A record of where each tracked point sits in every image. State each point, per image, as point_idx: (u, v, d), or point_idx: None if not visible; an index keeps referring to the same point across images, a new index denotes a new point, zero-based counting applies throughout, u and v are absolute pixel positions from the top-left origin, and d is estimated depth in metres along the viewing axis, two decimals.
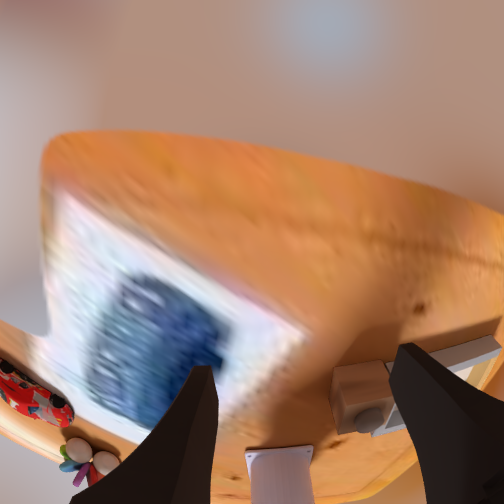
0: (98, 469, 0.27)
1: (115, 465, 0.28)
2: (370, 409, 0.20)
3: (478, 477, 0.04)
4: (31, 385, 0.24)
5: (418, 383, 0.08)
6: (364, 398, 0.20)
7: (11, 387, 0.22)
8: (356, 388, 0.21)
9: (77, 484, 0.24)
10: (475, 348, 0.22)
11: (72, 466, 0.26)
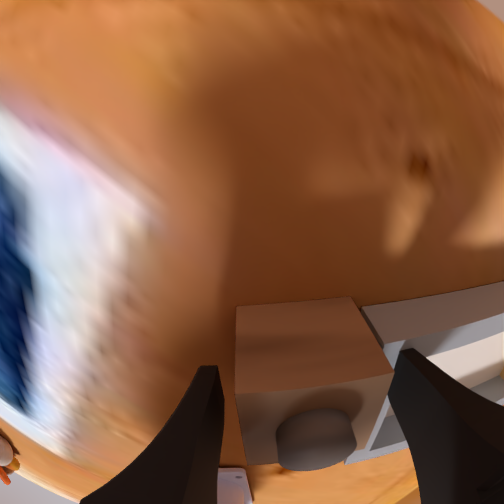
0: None
1: (3, 453, 0.16)
2: (317, 412, 0.08)
3: (472, 480, 0.04)
4: None
5: (413, 385, 0.08)
6: (294, 378, 0.08)
7: None
8: (276, 352, 0.09)
9: None
10: None
11: None
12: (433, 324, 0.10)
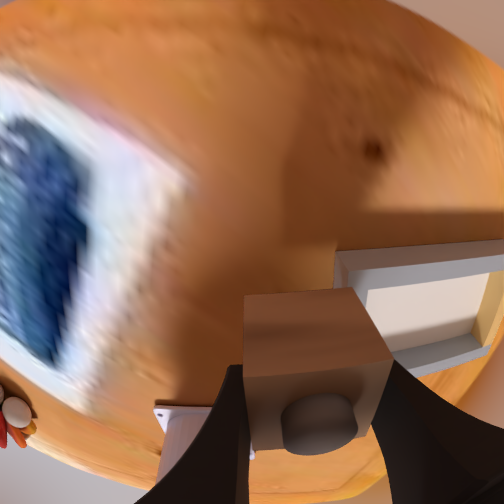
0: (5, 416, 0.20)
1: (23, 414, 0.21)
2: (320, 396, 0.08)
3: (439, 497, 0.04)
4: None
5: (385, 392, 0.08)
6: (299, 362, 0.08)
7: None
8: (282, 339, 0.09)
9: None
10: (483, 248, 0.15)
11: None
12: (388, 262, 0.14)
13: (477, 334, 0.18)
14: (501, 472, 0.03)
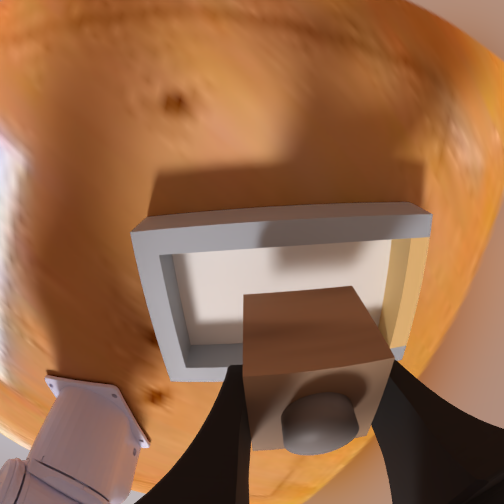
0: None
1: None
2: (321, 395, 0.08)
3: (439, 497, 0.04)
4: None
5: (385, 391, 0.08)
6: (299, 362, 0.08)
7: None
8: (282, 338, 0.09)
9: None
10: (358, 209, 0.14)
11: None
12: (184, 223, 0.13)
13: (384, 331, 0.17)
14: (501, 472, 0.03)
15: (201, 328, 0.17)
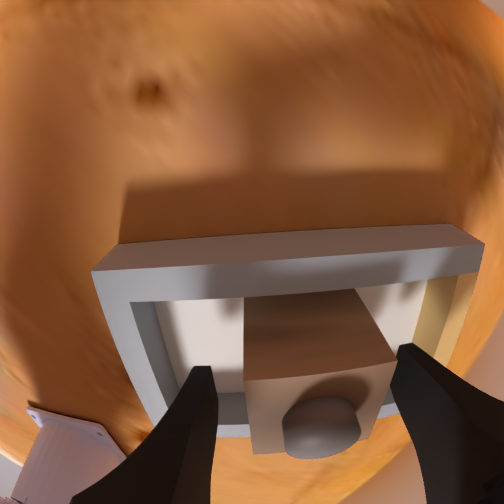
0: None
1: None
2: (322, 399, 0.08)
3: (478, 477, 0.04)
4: None
5: (419, 383, 0.08)
6: (300, 366, 0.08)
7: None
8: (283, 341, 0.09)
9: None
10: (397, 237, 0.10)
11: None
12: (161, 260, 0.09)
13: None
14: None
15: None
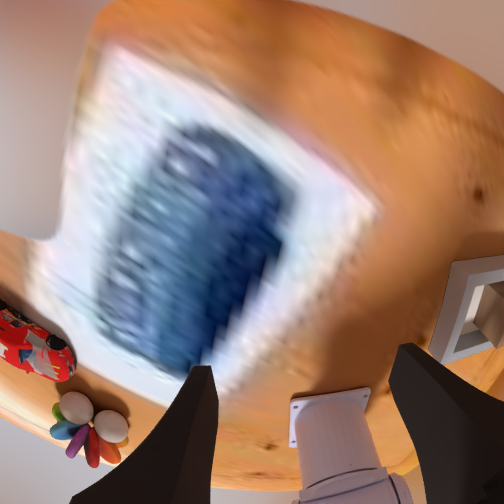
0: (100, 433, 0.23)
1: (122, 427, 0.25)
2: None
3: (478, 477, 0.04)
4: (25, 324, 0.21)
5: (418, 383, 0.08)
6: None
7: (1, 326, 0.19)
8: None
9: (71, 453, 0.20)
10: None
11: (66, 429, 0.22)
12: (484, 268, 0.18)
13: None
14: None
15: None
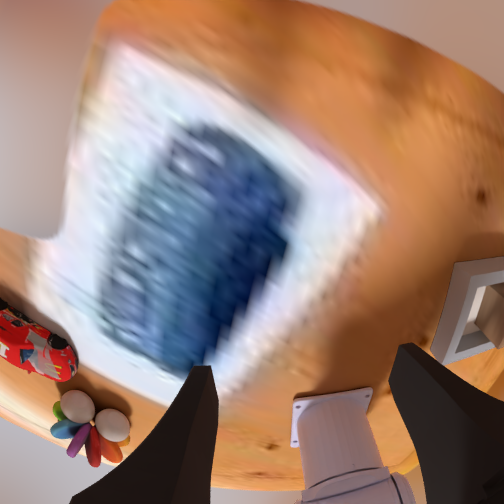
0: (101, 431, 0.23)
1: (124, 426, 0.24)
2: None
3: (478, 477, 0.04)
4: (26, 323, 0.21)
5: (419, 383, 0.08)
6: None
7: (2, 325, 0.19)
8: None
9: (72, 453, 0.20)
10: None
11: (67, 428, 0.22)
12: (486, 270, 0.18)
13: None
14: None
15: None
